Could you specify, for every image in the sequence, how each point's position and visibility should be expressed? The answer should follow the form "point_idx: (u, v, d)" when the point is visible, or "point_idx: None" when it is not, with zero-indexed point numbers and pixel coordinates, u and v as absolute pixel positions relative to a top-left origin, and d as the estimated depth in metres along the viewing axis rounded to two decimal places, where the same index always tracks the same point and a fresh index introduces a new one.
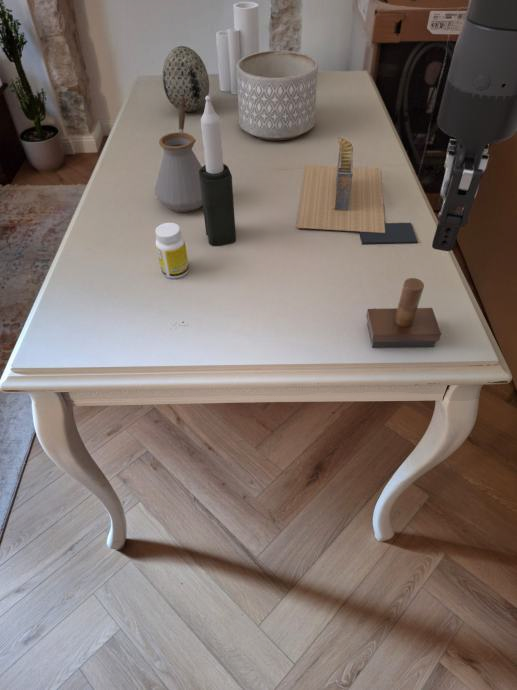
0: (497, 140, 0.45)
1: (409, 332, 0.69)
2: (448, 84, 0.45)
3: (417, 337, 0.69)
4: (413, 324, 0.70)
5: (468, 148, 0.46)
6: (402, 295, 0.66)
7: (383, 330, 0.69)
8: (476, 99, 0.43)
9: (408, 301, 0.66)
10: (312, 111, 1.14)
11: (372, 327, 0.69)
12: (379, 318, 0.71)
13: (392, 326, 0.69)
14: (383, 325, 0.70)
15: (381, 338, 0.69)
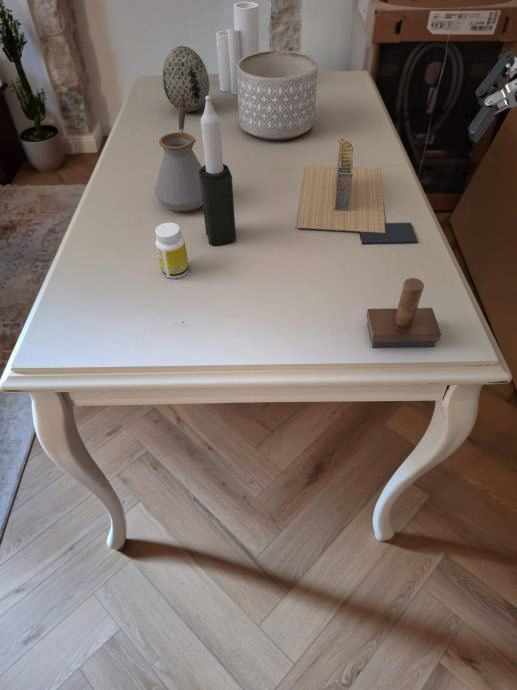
0: None
1: (409, 332, 0.69)
2: None
3: (417, 337, 0.69)
4: (413, 324, 0.70)
5: None
6: (402, 295, 0.66)
7: (383, 330, 0.69)
8: None
9: (408, 301, 0.66)
10: (312, 111, 1.14)
11: (372, 327, 0.69)
12: (379, 318, 0.71)
13: (392, 326, 0.69)
14: (383, 325, 0.70)
15: (381, 338, 0.69)
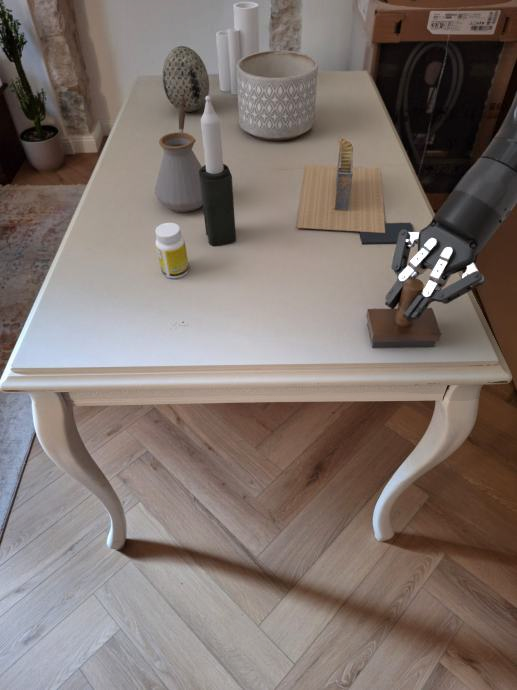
0: (434, 217, 0.64)
1: (409, 332, 0.69)
2: None
3: (417, 337, 0.69)
4: (413, 324, 0.70)
5: None
6: (402, 295, 0.66)
7: (383, 330, 0.69)
8: None
9: (408, 301, 0.66)
10: (312, 111, 1.14)
11: (372, 327, 0.69)
12: (379, 318, 0.71)
13: (392, 326, 0.69)
14: (383, 325, 0.70)
15: (381, 338, 0.69)
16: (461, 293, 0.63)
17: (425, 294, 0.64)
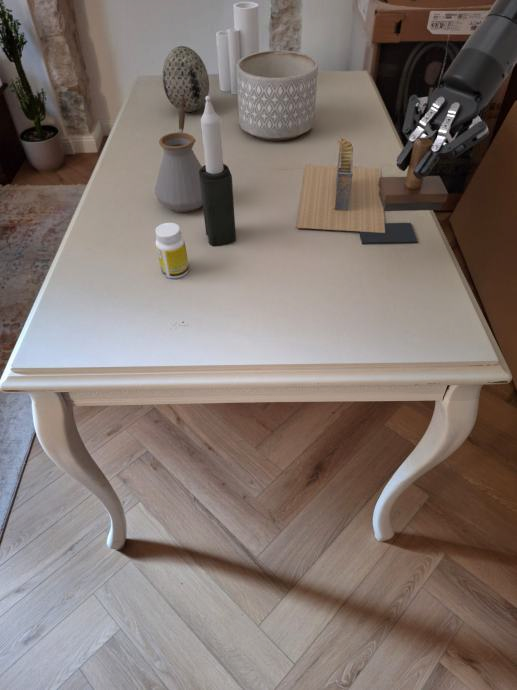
0: (442, 77, 0.70)
1: (418, 193, 0.74)
2: None
3: (426, 198, 0.75)
4: (422, 187, 0.75)
5: None
6: (412, 154, 0.72)
7: (394, 191, 0.75)
8: None
9: (418, 159, 0.71)
10: (312, 111, 1.14)
11: (384, 190, 0.75)
12: (390, 183, 0.76)
13: (403, 189, 0.75)
14: (394, 188, 0.75)
15: (392, 199, 0.75)
16: (467, 146, 0.69)
17: (434, 149, 0.70)
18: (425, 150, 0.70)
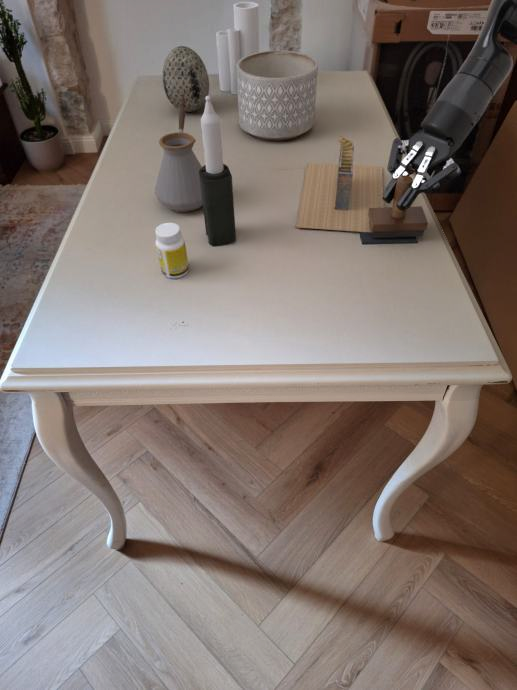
0: None
1: (402, 222, 0.85)
2: None
3: (409, 226, 0.85)
4: (405, 217, 0.86)
5: None
6: (396, 189, 0.83)
7: (381, 221, 0.86)
8: None
9: (401, 194, 0.82)
10: (312, 111, 1.14)
11: (372, 219, 0.86)
12: (378, 213, 0.87)
13: (388, 218, 0.86)
14: (381, 218, 0.86)
15: (379, 228, 0.86)
16: (442, 183, 0.79)
17: (414, 186, 0.81)
18: (406, 186, 0.81)
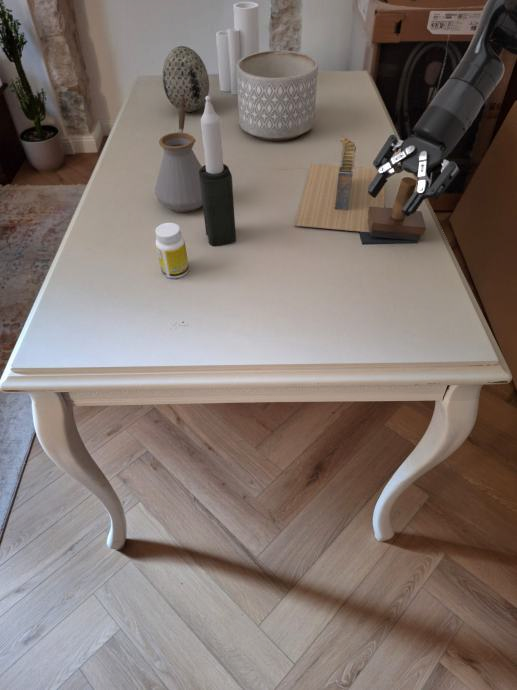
0: (413, 129, 0.81)
1: (401, 224, 0.85)
2: None
3: (407, 229, 0.85)
4: (405, 219, 0.86)
5: None
6: (399, 190, 0.83)
7: (380, 220, 0.85)
8: None
9: (403, 195, 0.82)
10: (312, 111, 1.14)
11: (372, 218, 0.86)
12: (378, 213, 0.87)
13: (388, 219, 0.86)
14: (381, 217, 0.86)
15: (378, 227, 0.85)
16: (446, 184, 0.79)
17: (419, 191, 0.80)
18: (410, 188, 0.81)
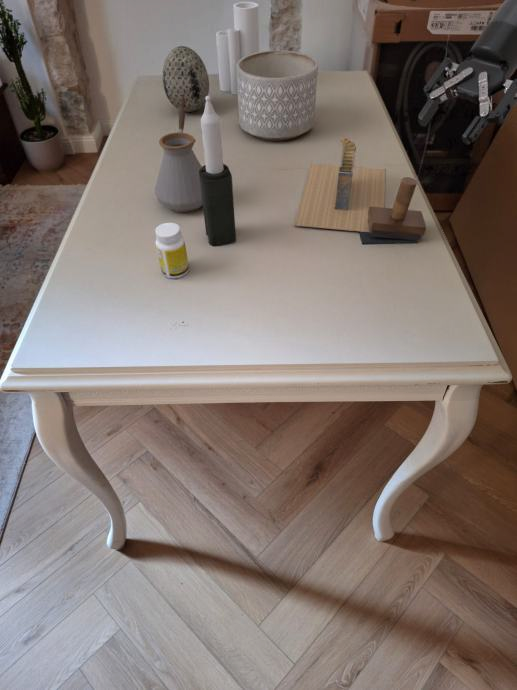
0: (470, 50, 0.75)
1: (401, 224, 0.85)
2: None
3: (407, 229, 0.85)
4: (405, 219, 0.86)
5: None
6: (399, 190, 0.83)
7: (380, 220, 0.85)
8: None
9: (403, 195, 0.82)
10: (312, 111, 1.14)
11: (372, 218, 0.86)
12: (378, 213, 0.87)
13: (388, 219, 0.86)
14: (381, 217, 0.86)
15: (378, 227, 0.85)
16: (511, 105, 0.73)
17: (482, 114, 0.73)
18: (410, 188, 0.81)
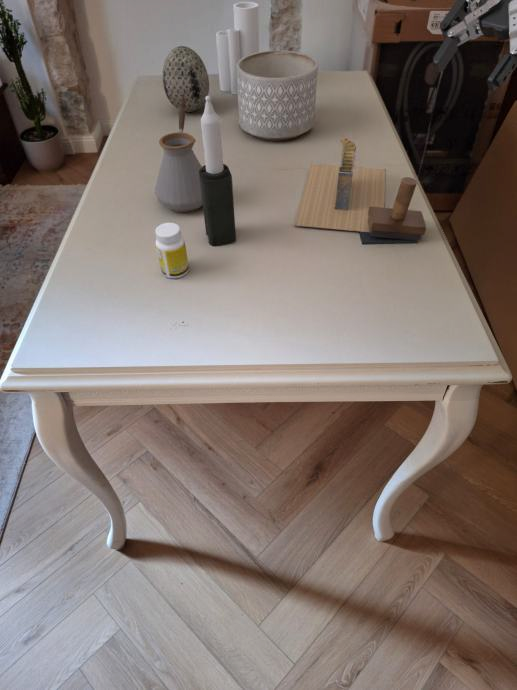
0: None
1: (401, 224, 0.85)
2: None
3: (407, 229, 0.85)
4: (405, 219, 0.86)
5: None
6: (399, 190, 0.83)
7: (380, 220, 0.85)
8: None
9: (403, 195, 0.82)
10: (312, 111, 1.14)
11: (372, 218, 0.86)
12: (378, 213, 0.87)
13: (388, 219, 0.86)
14: (381, 217, 0.86)
15: (378, 227, 0.85)
16: None
17: (513, 51, 0.60)
18: (410, 188, 0.81)
